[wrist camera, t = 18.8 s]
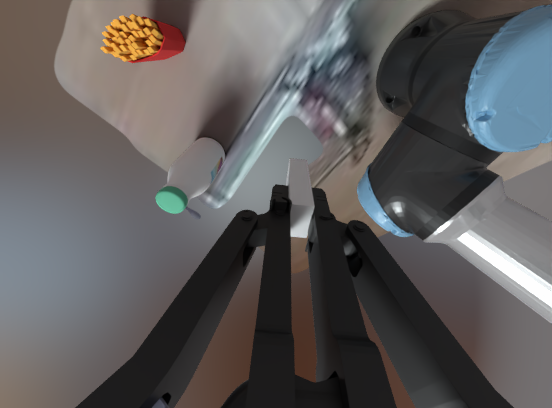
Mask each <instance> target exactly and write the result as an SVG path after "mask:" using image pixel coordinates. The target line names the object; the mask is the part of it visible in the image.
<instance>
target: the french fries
mask: <svg viewBox="0 0 552 408" xmlns="http://www.w3.org/2000/svg"><path fill="white" fill-rule="evenodd" d="M129 17H130V18H131V19H132V20H131V19H129V18H127V17H125V16H120V19H121V21H120V20H118V19H115V20H113V21H114V22H111V24H112V26H110V25H109V26H106V28H107V29H108V31H109V32H106V31H105V32H102V34H103V35H104V36H105V37H106V38H107V39H104V40H103V41H104V43H105V44H106V45H107V46H110V47H101V48H100V49H101V50H103V51H104V52H105V53H111V54H112V55H113V56H115V57H116V58H118V57H120V59H122V60H123V61H124V62H126V61H128V62H131V63H136V62H145V61H155V60H164V59H167V58H170V57H172V56H174V55H176V54H179V53H180V52H182V51H183V50H184V46H185V43H186V42H185V40H184V38H183V36H182V34H181V31H180V29H178V28H176V27H173V26H171V25H168V24H165V23H162V22H159V21H156V20H153V19H150V18H147V17H140V16H139V17H138V16H136V15H134V14H132V15H130V16H129ZM109 39H112V40H109Z"/></svg>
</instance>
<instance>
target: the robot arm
mask: <svg viewBox="0 0 552 408" xmlns="http://www.w3.org/2000/svg"><path fill="white" fill-rule="evenodd" d="M376 87H377V93H378V97H379V99H380V101H381V103H382V104H383V106H384V107H385V108H386V109H388V110H389V111H391V112H392V113H394V114H396V115H398V116H402V117H405V118H404V119H403V120H402V121H401V123H400V124H399V126H398V127H397V128H396V130H395V131H394V133H393V134H392V135H391V137H390V138H389V140H388V141H387V142H386V144H385V145H384V147H383V148H382V149H381V151H380V152H379V154H378V155H377V156H376V158H375V159H374V160H373V162H372V163H370V164H369V166H368V167H367V169H366V172H365V174H364V175H363V177H362V179H361V180H360V182H359V183H358V186H357V194H358V198H359V201H360V203H361V205H362V207H363V208H364V210H365V211H366V212H367V213H368V215H369V216H370V217H371V218H372V219H373V220H374V221H375V222H376V223H377V224H378V225H380V226H381V227H382V228H384V229H385V230H387V231H391V232H392V233H393V234H394V235H397V236H400V237H408V236H412V235H414V234H415V235H417V236H418V237H419V238H421V239H422V240H423V241H424V242H432V243H433V242H434V243H443V244H447V245H448V246H449V247H451V248H452V249H453V250H455V251H456V252H457V253H459V254H460V255H461V256H463V257H464V258H465V259H466V260H468V261H469V262H471V263H472V264H473V265H474V266H476V267H477V268H478V269H480V270H481V271H482V272H484V273H485V274H486V275H488V276H489V277H491V278H492V279H493V280H494V281H496V282H497V283H498V284H500V285H501V286H503V287H504V288H505V289H506V290H508V291H509V292H510V293H512V294H513V295H514V296H516V297H517V298H518V299H519V300H521V301H522V302H523V303H525V304H526V305H527V306H529V307H530V308H532V309H533V310H534V311H535V312H537V313H538V314H540V315H541V316H542V317H543V318H545V319H546V320H547V321H549V322H550V323H551V324H552V221H550V220H549V219H547V218H545V217H543V216H541V215H540V214H537V213H536V212H534V211H532V210H531V209H529V208H527V207H525V206H523V205H522V204H520V203H518V202H516V201H514V200H512V199H511V198H509V197H508V196H507V195H506V194H505V192H504V186H503V178H502V177H501V176H500V175H498V174H496V173H494V172H492V171H490V170H488V169H487V168H486V167H487V166H488V165H489V164H490V163H492V162H493V161H494V160H495V159H496V158H497V157H498V156H499V155H500V154H502V153H503V152H519V151H525V150H530V149H533V148H536V147H538V145H539V144H540V143H548V142H551V141H552V5H547V6H545V5H542V6H537V7H534V8H531V9H529V10H526V11H520V12H515V13H509V14H504V15H499V16H493V17H488V18H482V19H477V20H476V19H475V18H473V17H471V16H470V15H468V14H466V13H464V12H461V11H457V10H444V11H439V12H435V13H431V14H428V15H425V16H423V17H421V18H419V19H417V20H415V21H414V22H412V23H411V24H409V25H408V26H407V27H406V28H404V29H403V30H402V31H401V32H400V33H399V34H398V35H397V36H396V37H395V39H394V40H393V41H392V42H391V44H390V45H389V47H388V48H387V50H386V52H385V54H384V56H383V58H382V60H381V62H380V65H379V69H378V73H377V80H376ZM307 234H308V241H307V245H306V249H305V252H307V249H308V260H309V272H310V283H311V293H312V305H313V316H314V327H315V339H316V350H317V366H316V383H314V382H311V381H309V380H306V379H304V378H302V377H299V376H297V375H295V369H294V338H293V334H292V328H291V327H292V325H291V236H292V237H302V238H307ZM264 245H265V253H264V261H263V270H262V278H261V286H260V294H259V303H258V311H257V319H256V328H255V334H254V341H253V350H252V357H251V365H250V374H249V379H248V380H247V381H245V382H244V383H242V384H241V385H240V386H239V387H237V388H236V389H235V390H234V391H233V393H231V395H230V396H229V397H228V398H227V400H226V401H225V402H224V404H223V405H222V406H221V408H397V407H396V404H395V401H394V397H393V394H392V391H391V387H390V384H389V381H388V378H387V374H386V371H385V367H384V364H383V361H382V357H381V354H380V352H379V349H378V347H377V346H376V344H375V343H374V342H372V341H371V340H370V339H369V338H368V335H367V332H366V328H365V325H364V321H363V317H362V314H361V310H360V306H359V303H358V299H357V296H358V298H359V300H360V302H361V303H362V305H363V307H364V309H365V311H366V313H367V315H368V317H369V319H370V321H371V323H372V325H373V327H374V329H375V331H376V333H377V334H378V336H379V338H380V340H381V342H382V344H383V346H384V348H385V350H386V352H387V354H388V356H389V358H390V360H391V362H392V364H393V365H394V367H395V369H396V371H397V373H398V375H399V377H400V379H401V381H402V383H403V385H404V387H405V389H406V391H407V393H408V394H409V396H410V398H411V400H412V402H413V403H414V405H415V407H416V408H514V407H513V406H511V405H510V404H509V403H508V402H507V401H506V400H505V399H504V398H503V397H502V396H501V395H500V394H499V393H498V392H497V391H496V390H495V389H494V388H493V387H492V385H491V384H490V383H489V381H488V380H487V379H486V378H485V376H484V375H483V374H482V372H481V371H480V370H479V368H478V367H477V366H476V365H475V363H474V362H473V361H472V359H471V358H470V357H469V356H468V354H467V353H466V352H465V351H464V349H463V348H462V347H461V345H460V344H459V343H458V342H457V340H456V339H455V337H454V336H453V335H452V334H451V332H450V331H449V330H448V328H447V327H446V326H445V325H444V324H443V322H442V321H441V319H440V318H439V317H438V316H437V314H436V313H435V312H434V310H433V309H432V308H431V307H430V305H429V304H428V303H427V301H426V300H425V299H424V297H423V296H422V295H421V294H420V292H419V291H418V290H417V288H416V287H415V286H414V285H413V283H412V282H411V281H410V279H409V278H408V277H407V275H406V274H405V273H404V272H403V270H402V269H401V268H400V266H399V265H398V264H397V263H396V261H395V260H394V259H393V258H392V256H391V255H390V254H389V252H388V251H387V250H386V248H385V247H384V246H383V245H382V243H381V242H380V241H379V239H378V238H377V237H376V235H375V234H374V233H373V232H372V230H371V229H370V228H369V226H367V225H366V224H365V223H363V222H361V221H358V220H352V221H350V222H349V223H348V224H345V223H342V222H339V221H337V220H336V218H335V216H334V215H333V214H332V213H331V212H330V210H329V206H328V202H327V198H326V194H325V192H324V191H323V190H322V189H319V188H312V187H311V181H310V175H309V169H308V163H307V160H302V159H292V158H290V160H289V167H288V175H287V181H286V186H285V185H275V186H274V187H273V189H272V197H271V200H270V210H269V211H268V212H267V213H265V214H261V215H257V214H256V213H255V212H254V211H251V210H242V211H240V212H238V213H237V214H236V216H235V217H234V218H233V220H232V221H231V223H230V224H229V225H228V227H227V228H226V229H225V231H224V232H223V234H222V235H221V236H220V238H219V239H218V240H217V242H216V243H215V245H214V246H213V247H212V249H211V250H210V251H209V253H208V254H207V256H206V257H205V258H204V260H203V261H202V263H201V264H200V265H199V267H198V268H197V269H196V271H195V272H194V274H193V275H192V276H191V278H190V279H189V280H188V282H187V283H186V284H185V286H184V287H183V288H182V290H181V291H180V293H179V294H178V295H177V297H176V298H175V299H174V301H173V302H172V304H171V305H170V306H169V308H168V309H167V310H166V312H165V313H164V315H163V316H162V317H161V319H160V320H159V322H158V323H157V324H156V326H155V327H154V328H153V330H152V331H151V333H150V334H149V335H148V337H147V338H146V339H145V341H144V342H143V344H142V345H141V346H140V348H139V349H138V350H137V352H136V353H135V354H134V356H133V357H132V358H131V359H130V360H128V361H127V362H126V363H125V364H124V365H123V366H122V367H121V368H120V369H118V370H117V371H116V372H115V373H114V374H113V375H112V376H110V377H109V378H108V379H107V380H106V381H105V382H104V383H103V384H102V385H100V386H99V387H98V388H97V389H96V390H95V391H94V392H92V393H91V394H90V395H89V396H88V397H87V398H86V399H85V400H83V401H82V402H81V403H80V404H79V405H78V406H77V407H76V408H174V407H175V405H176V404H177V402H178V401H179V399H180V398H181V396H182V395H183V393H184V391H185V390H186V388H187V386H188V384H189V382H190V380H191V379H192V377H193V375H194V373H195V371H196V369H197V367H198V365H199V363H200V361H201V359H202V357H203V355H204V353H205V351H206V349H207V347H208V345H209V343H210V341H211V339H212V337H213V335H214V333H215V330H216V328H217V327H218V324H219V322H220V320H221V318H222V316H223V314H224V312H225V310H226V308H227V306H228V304H229V302H230V300H231V298H232V296H233V294H234V292H235V290H236V288H237V286H238V284H239V282H240V280H241V278H242V276H243V274H244V272H245V270H246V268H247V266H248V264H249V262H250V260H251V258H252V255H253V254H254V252H255V250H256V247H258V246H264ZM356 294H357V295H356Z"/></svg>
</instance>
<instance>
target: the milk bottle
mask: <svg viewBox="0 0 552 408" xmlns="http://www.w3.org/2000/svg"><path fill="white" fill-rule="evenodd" d="M224 160H225V152H224V149H223V148H222V146H221V145H220V144H219V143H218V142H217V141H216V140H214V139H211V138H207V137H204V138H199V139H198V140H196V141H195V142H194V143H193V144H192V145H191V146H190V147H189V148H188V149H186V150H185V151H184V152H183V153H182V154H181V155H180V156H179V157H178V158H177V159H176V161H175V162H174V163H173V164H172V166H171V167H170V170H169V173H168V183H167V185H165V186H163V187H162V189H161V190H159V192H158V193H157V195H156V202H157V204H158V205H159V207H160V208H162V209H163V210H165V211H167V212H169V213H180V212H182V211H183V210H184V209H185V208H186V206H187V204H188V203H189V200H190V199H191V198H193V197H196V196H198V195H200V194H202V193H203V192H204V191H206V189H207V188H208V187H209V186H210V184H211V183H212V181H213V180H214V178H215V176H216V175H217V173H218V171H219V170H220V168H221V166H222V165H223V163H224Z"/></svg>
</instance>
